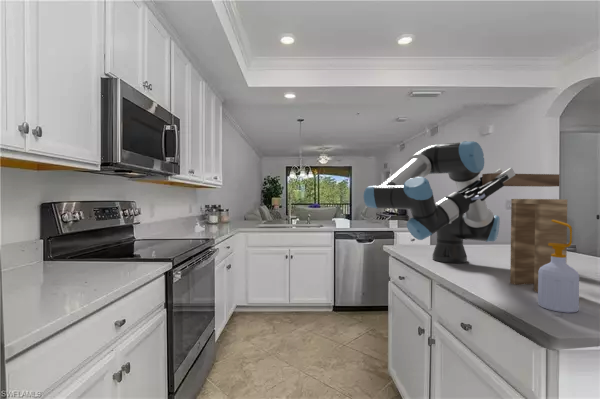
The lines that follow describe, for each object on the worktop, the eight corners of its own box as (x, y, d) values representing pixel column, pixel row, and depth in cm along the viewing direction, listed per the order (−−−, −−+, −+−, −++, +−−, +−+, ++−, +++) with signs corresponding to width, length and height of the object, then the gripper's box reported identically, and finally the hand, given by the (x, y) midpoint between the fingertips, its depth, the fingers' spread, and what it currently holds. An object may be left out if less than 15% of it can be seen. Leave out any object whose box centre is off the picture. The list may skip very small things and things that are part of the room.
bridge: (510, 283, 121) (511, 198, 121) (534, 282, 123) (535, 198, 122) (539, 293, 109) (540, 199, 109) (565, 291, 111) (567, 199, 111)
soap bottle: (539, 300, 102) (540, 218, 101) (578, 307, 96) (580, 219, 96) (536, 308, 95) (537, 220, 94) (578, 315, 89) (580, 221, 89)
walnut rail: (482, 186, 114) (482, 174, 114) (548, 186, 119) (548, 175, 118) (490, 185, 110) (491, 173, 110) (559, 186, 115) (559, 174, 115)
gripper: (441, 215, 119) (493, 182, 122) (474, 219, 102) (533, 180, 105) (431, 196, 118) (484, 164, 121) (463, 197, 101) (523, 159, 104)
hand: (507, 171), depth 113 cm, fingers closed on walnut rail, 4 cm apart
